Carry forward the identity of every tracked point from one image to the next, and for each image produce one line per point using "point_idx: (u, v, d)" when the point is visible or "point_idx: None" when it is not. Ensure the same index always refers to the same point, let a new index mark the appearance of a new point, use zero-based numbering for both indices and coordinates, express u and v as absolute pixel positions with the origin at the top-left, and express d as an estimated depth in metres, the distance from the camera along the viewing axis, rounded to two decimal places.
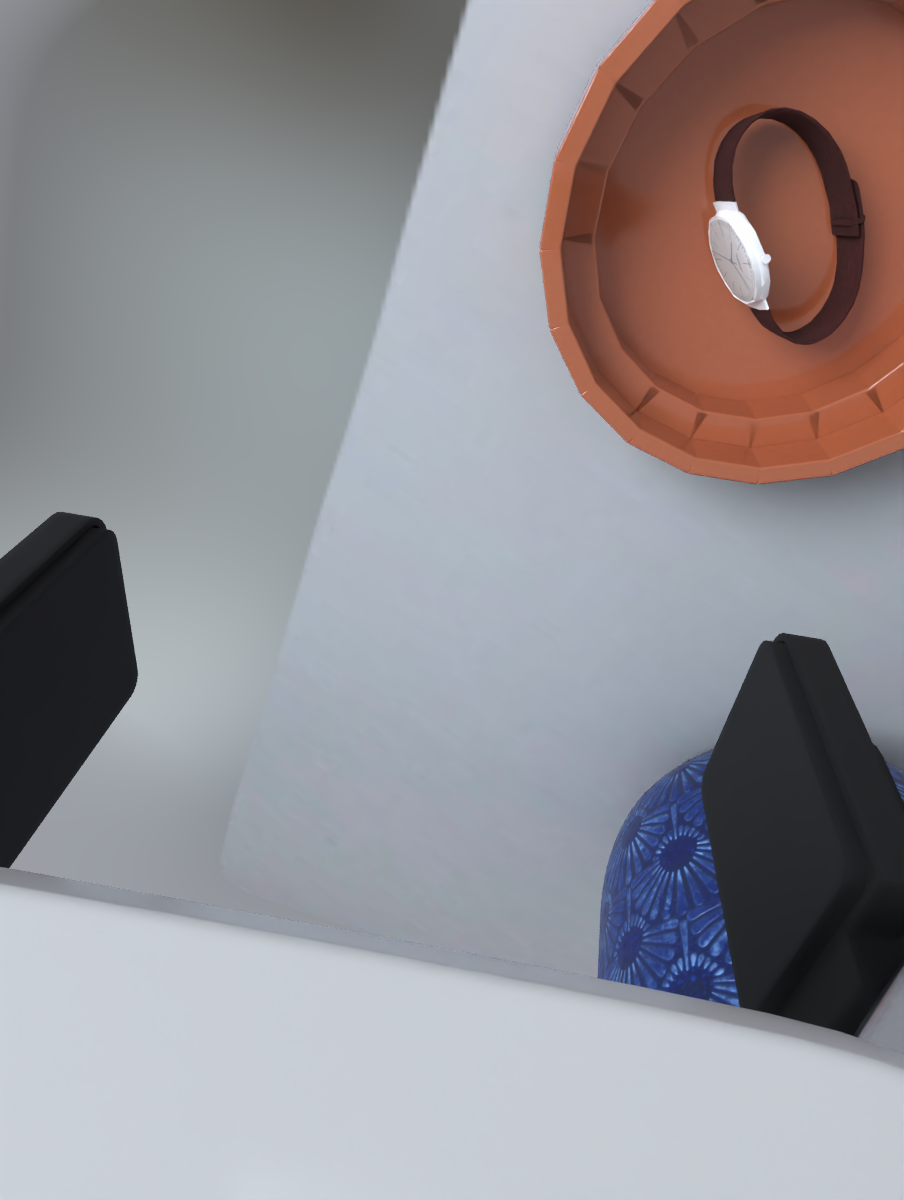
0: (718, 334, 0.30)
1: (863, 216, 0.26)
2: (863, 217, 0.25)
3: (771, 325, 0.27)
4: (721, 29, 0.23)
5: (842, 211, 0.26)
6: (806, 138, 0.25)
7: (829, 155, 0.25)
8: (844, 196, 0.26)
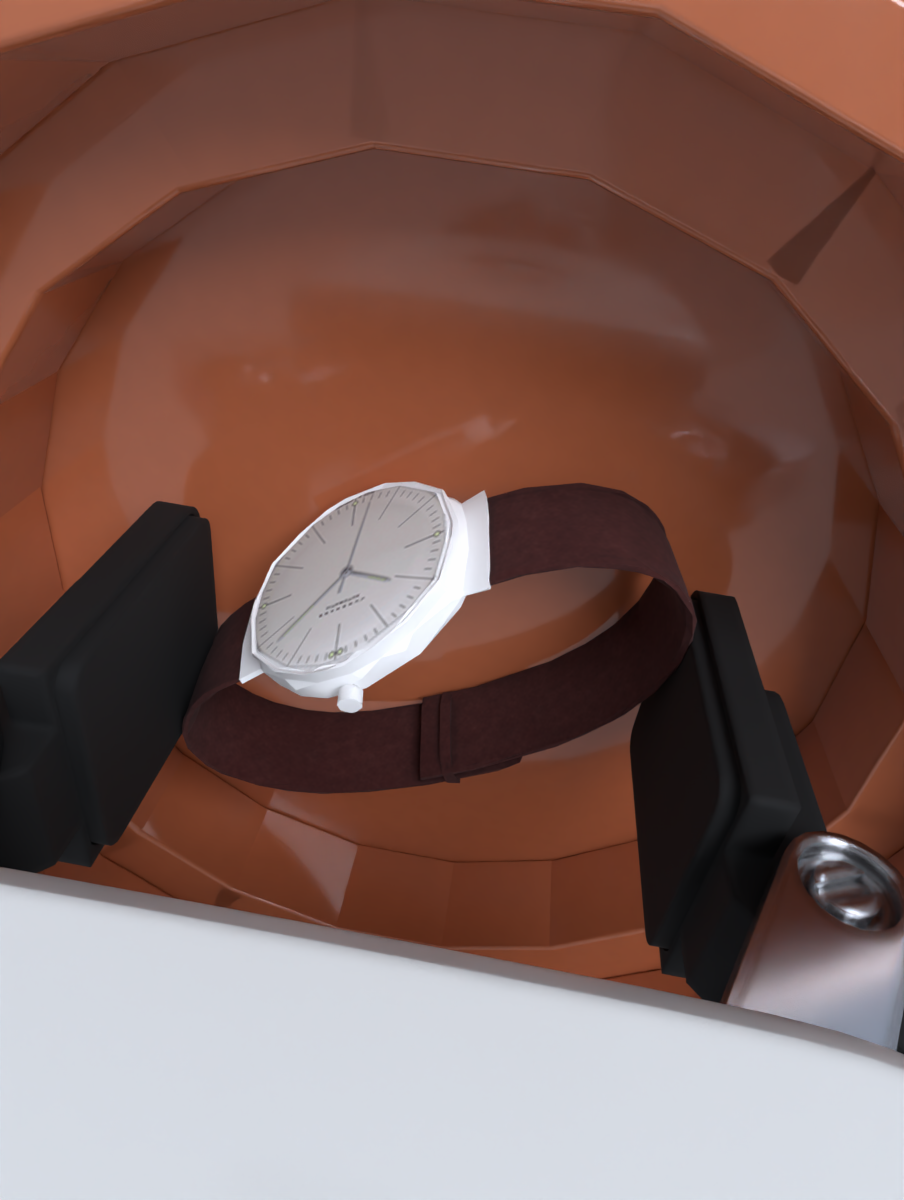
0: None
1: (457, 780, 0.12)
2: (456, 781, 0.12)
3: (210, 677, 0.11)
4: None
5: (466, 731, 0.12)
6: (606, 648, 0.12)
7: (572, 705, 0.12)
8: (493, 739, 0.12)
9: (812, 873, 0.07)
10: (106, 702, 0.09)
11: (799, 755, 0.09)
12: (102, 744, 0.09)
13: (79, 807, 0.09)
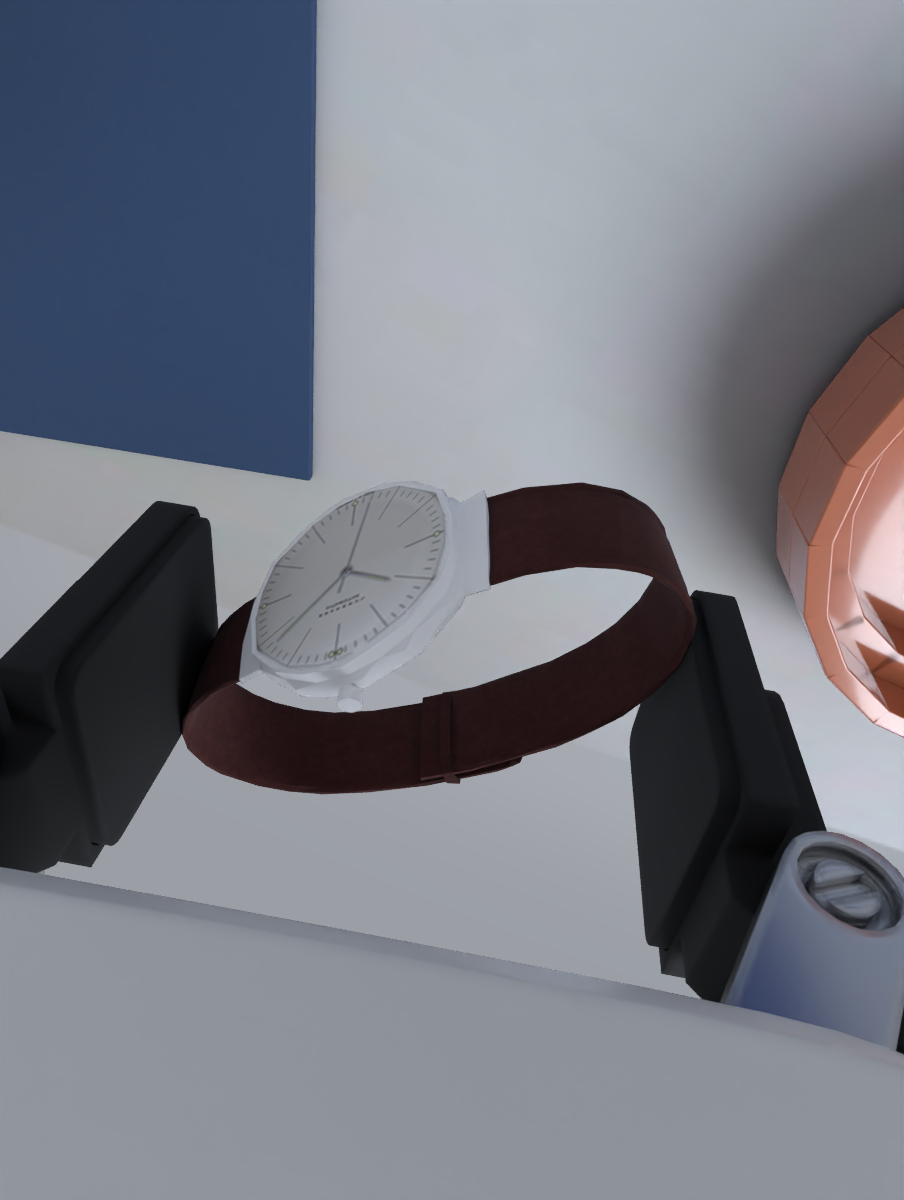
0: None
1: (457, 780, 0.12)
2: (457, 781, 0.12)
3: (210, 677, 0.11)
4: None
5: (466, 731, 0.12)
6: (606, 648, 0.12)
7: (573, 705, 0.12)
8: (493, 739, 0.12)
9: (812, 873, 0.07)
10: (106, 702, 0.09)
11: (798, 755, 0.09)
12: (102, 744, 0.09)
13: (79, 807, 0.09)
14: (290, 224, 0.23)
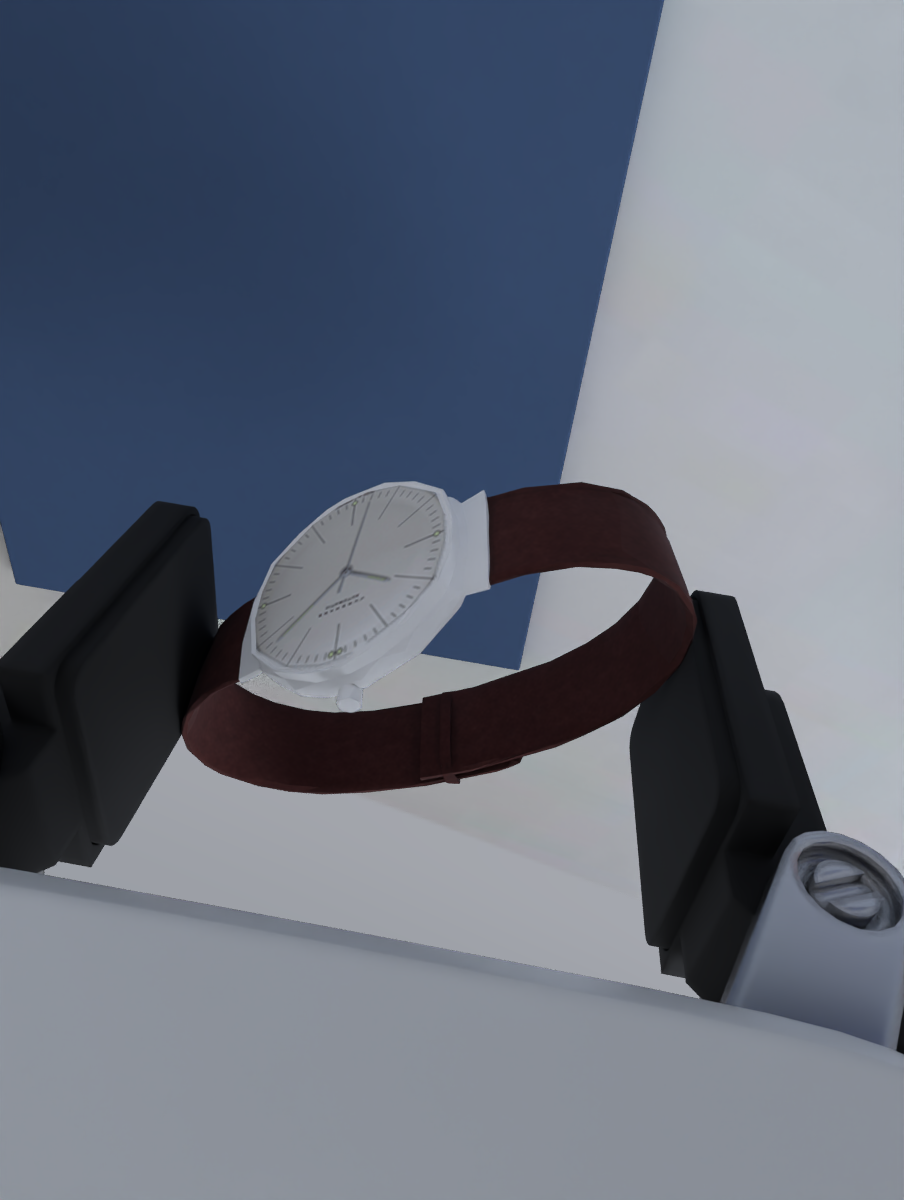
0: None
1: (457, 780, 0.12)
2: (457, 782, 0.12)
3: (210, 677, 0.11)
4: None
5: (466, 731, 0.12)
6: (606, 648, 0.12)
7: (573, 705, 0.12)
8: (493, 739, 0.12)
9: (812, 873, 0.07)
10: (106, 702, 0.09)
11: (799, 755, 0.09)
12: (102, 744, 0.09)
13: (79, 807, 0.09)
14: (555, 356, 0.16)
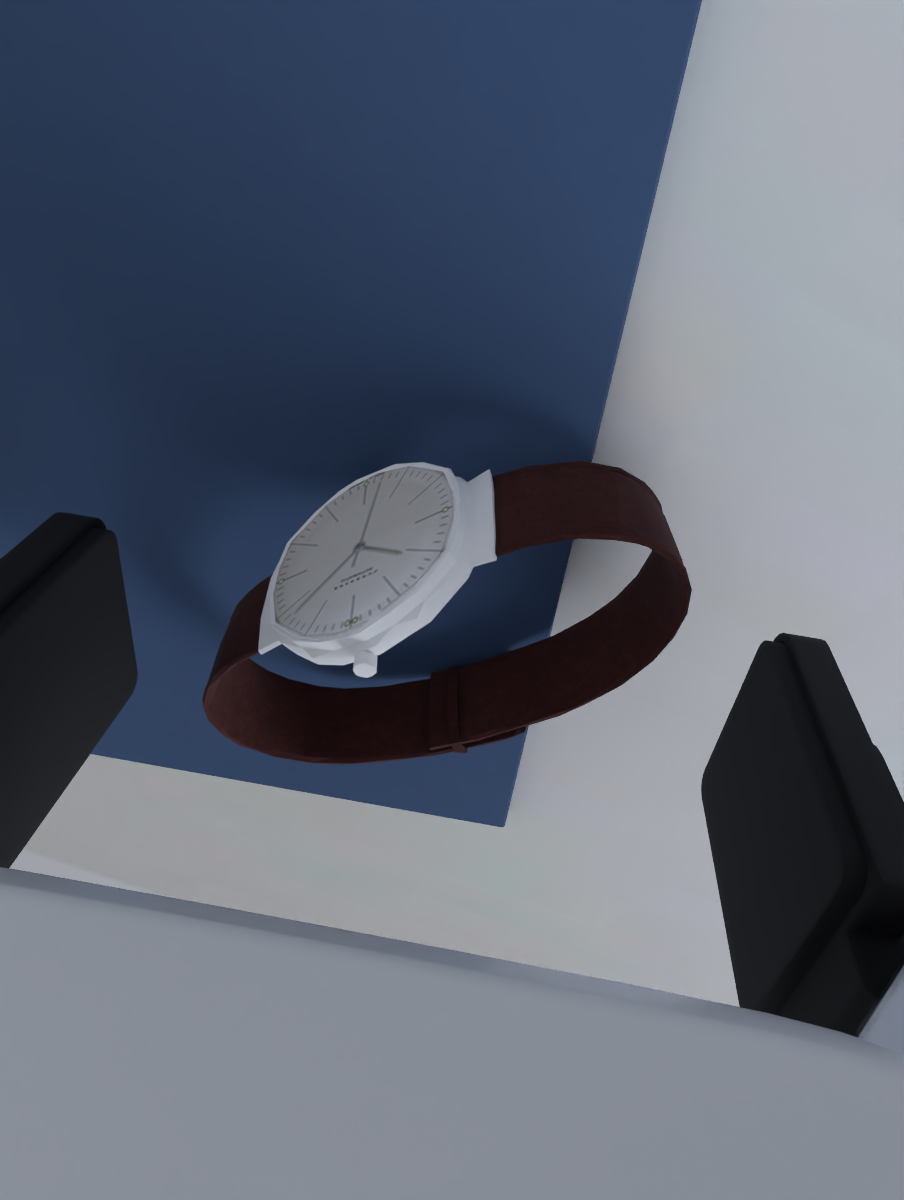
0: None
1: (465, 749, 0.13)
2: (464, 751, 0.13)
3: (230, 650, 0.11)
4: None
5: (473, 702, 0.13)
6: (606, 622, 0.12)
7: (574, 675, 0.12)
8: (499, 710, 0.13)
9: None
10: None
11: None
12: None
13: None
14: (547, 461, 0.11)
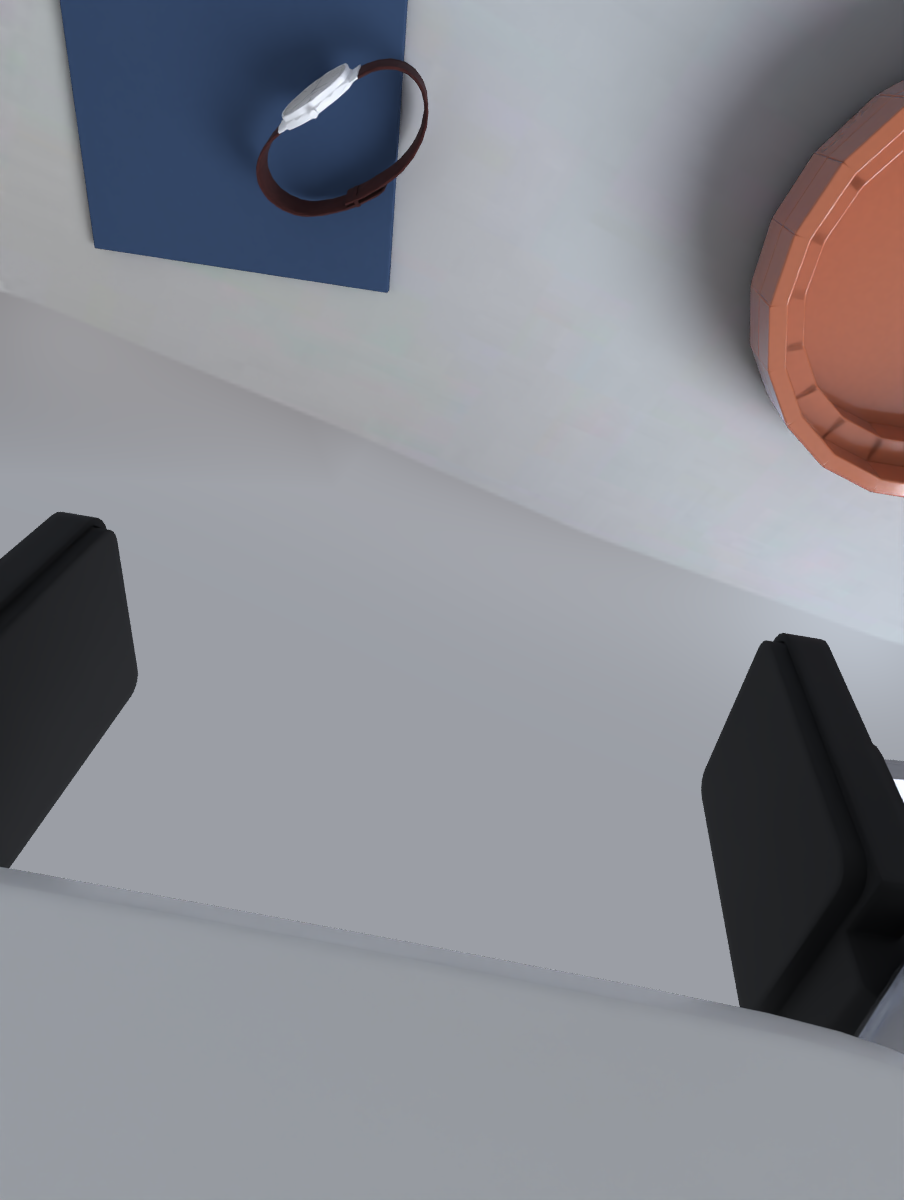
0: None
1: (359, 204, 0.32)
2: (359, 204, 0.32)
3: (267, 141, 0.31)
4: None
5: (363, 188, 0.32)
6: (412, 144, 0.31)
7: (399, 164, 0.31)
8: (372, 186, 0.32)
9: None
10: None
11: None
12: None
13: None
14: (385, 72, 0.31)
